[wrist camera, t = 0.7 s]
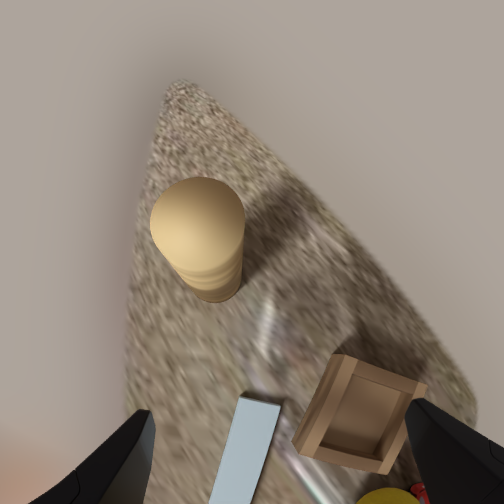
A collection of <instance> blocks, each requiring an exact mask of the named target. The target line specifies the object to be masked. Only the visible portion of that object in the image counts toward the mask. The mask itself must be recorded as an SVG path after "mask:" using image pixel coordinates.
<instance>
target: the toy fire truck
mask: <svg viewBox="0 0 504 504" xmlns="http://www.w3.org/2000/svg"><path fill="white" fill-rule="evenodd" d="M408 493H410V494H411V495H412V496H414V497H415V498H416V499H417V500H418V501H419V502H420V504H430V503H429V500H428V496H427V493H426V490H425V487H424V484H423V483H417V484H414V485H413V486H412V487H411V488H410V492H408Z"/></svg>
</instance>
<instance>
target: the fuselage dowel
mask: <svg viewBox="0 0 504 504" xmlns="http://www.w3.org/2000/svg"><path fill="white" fill-rule="evenodd" d="M244 227H245V213H244V208H243V205H242V202H241V200H240V198H239V197H238V195H237V194H236V193H235V192H234V191H233V190H232V189H231V188H230V187H229V186H228V185H226V184H224V183H223V182H221V181H218V180H215V179H212V178H207V177H194V178H188V179H185V180H182V181H179V182H177V183H175V184H174V185H172V186H171V187H169V188H168V189H167V190H166V191H164V192H163V194H162V195H161V196H160V197H159V199H158V200H157V202H156V203H155V205H154V208H153V210H152V214H151V219H150V229H151V234H152V237H153V240H154V242H155V244H156V246H157V247H158V248H159V250H160V251H161V252H162V254H163V255H164V256H165V257H166V259H167V260H168V261H169V263H170V264H171V265H172V266H173V268H174V269H175V270H176V271H177V273H178V274H179V275H180V276H181V278H182V279H183V280H184V281H185V283H186V284H187V285H188V286H189V287H190V289H191V290H192V291H193V292H194V294H195V295H196V296H197V297H199V298H200V299H202V300H204V301H206V302H210V303H220V302H224V301H226V300H228V299H230V298H231V297H232V296H233V295H234V294H235V293H236V292H237V290H238V289H239V286H240V283H241V276H242V260H243V243H244Z"/></svg>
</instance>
